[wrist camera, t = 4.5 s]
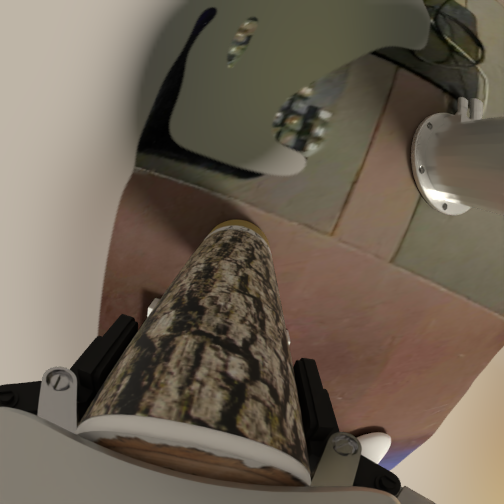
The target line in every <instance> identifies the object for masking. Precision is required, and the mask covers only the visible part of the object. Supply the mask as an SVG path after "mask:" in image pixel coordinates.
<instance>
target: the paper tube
mask: <svg viewBox="0 0 504 504" xmlns="http://www.w3.org/2000/svg"><path fill="white" fill-rule="evenodd" d="M77 427H78V428H77V430H76V435H78V436H80V437H82V438H85V439H87V440H89V441H91V442H94V443H96V444H98V445H101V446H103V447H105V448H108V449H110V450H113V451H115V452H118V453H120V454H123V455H126V456H129V457H131V458H134V459H137V460H140V461H143V462H146V463H150V464H153V465H156V466H160V467H163V468H167V469H171V470H174V471H178V472H183V473H187V474H191V475H196V476H201V477H206V478H211V479H217V480H224V481H230V482H238V483H246V484H256V485H269V486H295V487H310V485H311V480H312V478H311V471H310V465H309V458H308V452H307V446H306V440H305V434H304V428H303V422H302V416H301V410H300V404H299V398H298V393H297V387H296V381H295V376H294V370H293V365H292V359H291V354H290V348H289V343H288V338H287V332H286V327H285V322H284V316H283V311H282V306H281V301H280V296H279V291H278V286H277V281H276V276H275V271H274V266H273V261H272V256H271V252H270V247H269V243H268V240H267V238H266V236H265V235H264V233H263V232H262V231H261V230H260V229H259V228H258V227H257V226H255V225H254V224H252V223H250V222H248V221H244V220H229V221H225V222H223V223H221V224H219V225H217V226H216V227H215V228H214V229H213V230H212V231H211V232H210V233H209V234H208V236H207V237H206V238H205V239H204V241H203V242H202V243H201V244H200V246H199V247H198V248H197V250H196V251H195V252H194V254H193V255H192V256H191V258H190V259H189V260H188V262H187V263H186V264H185V266H184V267H183V268H182V270H181V271H180V273H179V274H178V275H177V277H176V278H175V279H174V281H173V282H172V284H171V285H170V286H169V288H168V289H167V290H166V292H165V293H164V295H163V296H162V297H161V299H160V300H159V302H158V303H157V304H156V306H155V307H154V309H153V310H152V312H151V313H150V314H149V316H148V317H147V319H146V320H145V322H144V323H143V325H142V326H141V327H140V329H139V330H138V332H137V333H136V335H135V336H134V338H133V339H132V341H131V342H130V344H129V345H128V347H127V348H126V350H125V351H124V353H123V354H122V356H121V357H120V359H119V360H118V362H117V363H116V365H115V366H114V368H113V369H112V371H111V372H110V374H109V376H108V377H107V379H106V380H105V382H104V383H103V385H102V387H101V388H100V390H99V391H98V393H97V395H96V396H95V398H94V399H93V401H92V403H91V404H90V406H89V408H88V409H87V411H86V412H85V414H84V416H83V417H82V419H81V421H80V422H79V424H78V426H77Z"/></svg>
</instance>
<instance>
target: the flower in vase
mask: <svg viewBox="0 0 504 504" xmlns="http://www.w3.org/2000/svg"><path fill="white" fill-rule="evenodd" d="M357 439H358V440H359V442H360V443H361V446H362V451H361V454H362V455H363V456H365V457H366V458H368V459H370V460H371V461H373V462H375V463H376V464H378V463H379V462H380V460H381V459H382V458H383V457H384V455H385V454H386V453H387V451H388V449H389V447H390V445H391V437H390V436H389V435H387V434H385V433H381V432H375V433H369V434H365V435H362V436H359V437H357Z"/></svg>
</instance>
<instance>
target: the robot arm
mask: <svg viewBox="0 0 504 504" xmlns="http://www.w3.org/2000/svg"><path fill="white" fill-rule="evenodd" d="M467 110H468V100H467V99H465V98H463V97H459V98H458V112H457V113H456V114H455V115H453V114H449V113H437V114H433V115H430V116H429V117H427V118H425V119H424V120H423V121H422V122H421V123H420V125H419V126H418V128H417V129H416V132H415V134H414V137H413V141H412V147H411V164H412V171H413V175H414V179H415V182H416V184H417V187H418V189H419V191H420V193H421V195H422V196H423V198H424V199H425V200H426V202H427V203H428V204H429V205H430V206H431V207H433V208H434V209H435V210H437V211H439V212H441V213H444V214H447V215H460V214H462V213H464V212H466V211H468V210H469V209H470V208H471V207H473V208H477V209H481V210H485V211H488V212H492V213H496V214H499V215H503V216H504V117H496V118H488V119H482V116H483V103H482V102H481V101H480V100H478V99H475V98H471V99H470V111H469V112H470V118H468V117H467ZM137 332H138V322H135V319H134V318H133V317H130V316H127V315H124V314H122V315H121V316H120V317H119V318H118V319H117V320H116V321H115V323H114V324H113V325H112V326H111V327H110V328H109V330H108V331H107V332H106V333H105V334H104V336H103V337H102V336H98V337H97V338H95V340H94V341H93V342H92V343H91V344H90V346H89V347H88V348H87V349H86V350H85V351H84V353H83V354H82V355H81V356H80V358H79V359H78V360H77V361H76V362H75V364H74V365H73V366H72V367H71V368H70V370H69V369H67V368H64V367H53V368H50V369H48V370H47V371H46V372H45V373H44V375H43V377H42V381H36V382H27V383H18V384H6V385H1V386H0V504H435V503H434V502H433V501H431V500H429V499H427V498H425V497H424V496H422V495H420V494H418V493H417V492H415V491H413V490H411V489H410V488H408V487H406V486H404V487H401V483H400V480H399V478H398V477H397V476H396V475H395V474H393V473H392V472H390V471H388V470H387V469H385V468H383V467H381V466H380V465H378V464H376V463H375V462H373V461H371V460H370V459H368V458H366V457H365V456H363V455H362V454H361V451H362V446H361V443H360V442H359V440H358V439H357V438H356V437H355V436H353V435H351V434H349V433H345V432H339V428H338V425H337V421H336V418H335V415H334V411H333V408H332V404H331V401H330V398H329V394H328V392H327V390H326V389H323V386H322V383H321V379H320V376H319V372H318V369H317V366H316V362H315V360H313V359H307V358H301V359H300V361H299V360H297V361H296V362H295V364H294V367H293V370H294V376H295V381H296V387H297V393H298V398H299V404H300V410H301V416H302V422H303V428H304V434H305V440H306V446H307V452H308V458H309V465H310V471H311V478H312V480H311V485H310V487H295V486H269V485H256V484H246V483H238V482H230V481H224V480H217V479H211V478H206V477H201V476H196V475H191V474H187V473H183V472H178V471H174V470H171V469H167V468H163V467H160V466H156V465H153V464H150V463H146V462H143V461H140V460H137V459H134V458H131V457H129V456H126V455H123V454H120V453H118V452H115V451H113V450H110V449H108V448H105V447H103V446H101V445H98V444H96V443H94V442H91V441H89V440H87V439H85V438H82V437H80V436H78V435H76V430H77V428H78V427H77V426H78V424H79V422H80V421H81V419H82V417H83V416H84V414H85V412H86V411H87V409H88V408H89V406H90V404H91V403H92V401H93V399H94V398H95V396H96V395H97V393H98V391H99V390H100V388H101V387H102V385H103V383H104V382H105V380H106V379H107V377H108V376H109V374H110V372H111V371H112V369H113V368H114V366H115V365H116V363H117V362H118V360H119V359H120V357H121V356H122V354H123V353H124V351H125V350H126V348H127V347H128V345H129V344H130V342H131V341H132V339H133V338H134V336H135V335H136V333H137Z"/></svg>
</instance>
